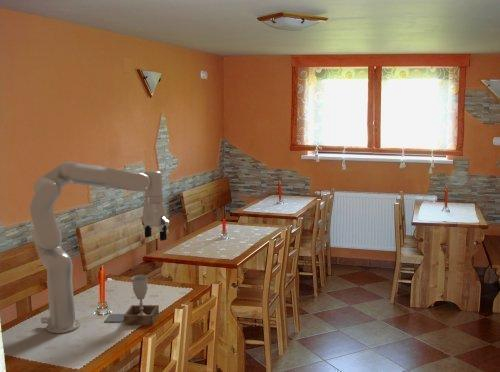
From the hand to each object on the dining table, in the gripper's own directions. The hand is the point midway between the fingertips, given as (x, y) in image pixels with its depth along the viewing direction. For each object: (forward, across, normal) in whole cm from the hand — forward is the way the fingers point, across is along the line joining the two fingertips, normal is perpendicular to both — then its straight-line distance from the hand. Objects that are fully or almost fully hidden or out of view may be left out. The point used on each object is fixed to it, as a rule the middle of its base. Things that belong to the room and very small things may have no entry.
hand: (155, 238), depth 244 cm
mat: (+30, -3, -21) cm, 37 cm away
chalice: (+30, +7, -15) cm, 35 cm away
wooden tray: (+30, +7, -15) cm, 34 cm away
